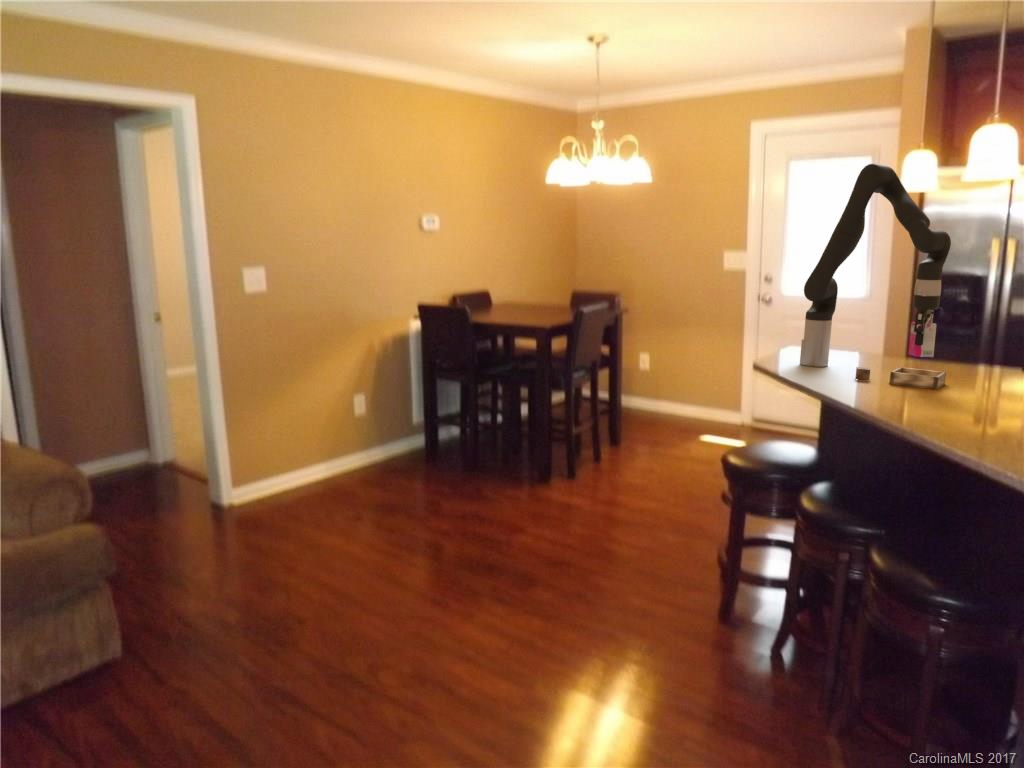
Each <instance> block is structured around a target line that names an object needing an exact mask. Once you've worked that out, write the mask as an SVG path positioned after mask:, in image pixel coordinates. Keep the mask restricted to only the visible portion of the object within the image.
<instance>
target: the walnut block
mask: <svg viewBox="0 0 1024 768" xmlns="http://www.w3.org/2000/svg"><path fill="white" fill-rule="evenodd" d="M870 377H871V368H870V367H866V366H865V367H862V366H856V369H855V380H856V379H858V380H857V381H859V380H869V381H870Z"/></svg>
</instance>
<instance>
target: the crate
mask: <svg viewBox="0 0 1024 768" xmlns="http://www.w3.org/2000/svg"><path fill="white" fill-rule="evenodd" d="M946 374H947V371H940V370H939V371H938V370H937V371H936V370H929V369H921V368H920V369H919V368H918V369H917V368H911V367H901V366H899V367H897V368H896V369H893V370H892V371H890V374H889V385H894V384H895V386H902V385H903V387H910V386H911V388H912V387H913V388H918V387H919V388H920V389H926V388H927V390H935V389H936V391H937V390H938V389H940V388H941V387H942V386H944V385H945V383H946V376H947V375H946Z"/></svg>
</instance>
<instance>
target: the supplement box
mask: <svg viewBox="0 0 1024 768" xmlns="http://www.w3.org/2000/svg"><path fill="white" fill-rule="evenodd" d="M914 327H915V321H911V323H910V332H909V344H908V352H907V353H908V354H907V357H910V358H913V359H917V360H921V359H922V360H924V359H925V360H926V359H927V360H928V359H929V360H930V359H931V360H933V359H934V354H935V344H936V336H937V335H936V334H937V323H930V322H929V323H928V327H927V328H926V329H925V333H924V338H923V345H915V337H916V333H915V332H914ZM918 328H920V329H921V327H918Z"/></svg>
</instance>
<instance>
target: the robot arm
mask: <svg viewBox="0 0 1024 768" xmlns="http://www.w3.org/2000/svg"><path fill="white" fill-rule="evenodd" d="M874 193H875V194H880V195H881V196H883V197H884V198H885V199H887V200H888V202H889V203H890V205H891V206H892V208H893V212H894V215H895V217H896V219H897V221H898V222H899V223H900V225H901V226H903V228H904V229H905V230H906V231H907V233H908V234H909V236H910V237H909V238H910V240H911V242H912V244H913V245H914V247H915V249H917V250H918V251H919V252H920V253H923V254H927V257H926V259H925V260H923V261H920V262H919V264H918V266H917V273H916V281H915V285H914V292H913V293H914V294H913V299H912V300H913V301H912V308H914V309H918V310H919V311H918V313H916V314H915V319H914V322H915V327H914V332H915V333H916V337H915V345H923V338H924V333H925V329H926V328H927V327H928V323H929V322H930V323H933V322H934V314H935V310H938V309H939V308H940V302H941V301H940V300H941V293H942V276H943V269H944V265H945V263H946V261H947V258H948V256H949V252H950V250H951V246H952V245H951V244H952V241H951V236H950V234H948V232H946V231H943V230H931V229H930V228H929V227H930V226H931V220H930V219H929V217H928V216H927V215H926V213H925V212H924V211H923V210H922V209H921V208H920V207H919V206H918V205H917V202H915V201H914V199H912V197H911V196H910V194H909V193H908V192H907V189H906V188H905V187H904V185H903V183H902V181H901V180H900V177H899V176H898V174H897V172H896V171H895V170H894V169H893V168H892V167H890V166H888V165H883V164H879V163H869V164H867V165H865V166H864V167H862V169H861V171H860V172H859V174H858V176H857V178H856V181H855V184H854V186H853V189H852V191H851V193H850V196H849V199H848V201H847V204H846V205H845V208H844V210H843V213H842V214H841V216H840V218H839V220H838V222H837V224H836V226H835V228H834V229H833V232H832V233H831V236H830V238H829V240H828V242H827V245H826V246H825V248H824V251H823V252H822V254H821V257H820V258H819V261H818V263H817V264H816V266H815V267H814V268H813V270H812V272H811V273H810V275H809V277H808V278H807V280H806V282H805V284H804V286H803V294H804V296H805V298H806V299H807V300H808V301H811V302H812V303H811V306H810V308H809V309H808V310H807V311H806V313H805V318H804V320H805V321H804V331H803V338H802V339H801V346H800V355H799V358H800V359H799V365H803V366H808V367H815V368H816V367H823V368H824V367H828V365H829V357H830V348H831V347H830V346H831V335H832V334H831V333H832V324H833V316H834V313H835V311H836V306H837V299H838V283H837V281H836V280H835V278H834V274H835V273H836V271H837V270H838V268H839V267H840V266H841V265H842V264H844V262H845V261H846V260H847V259H848V258H849V257H850V256H851V254H852V253H853V252H854V251H855V250H856V248H857V246H858V244H859V242H860V240H861V239H862V236H863V234H864V231H865V225H866V220H865V219H866V210H867V206H868V204H869V202H870V201H871V199H872V196H873V195H874ZM918 327H921V329H920V328H918Z"/></svg>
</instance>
